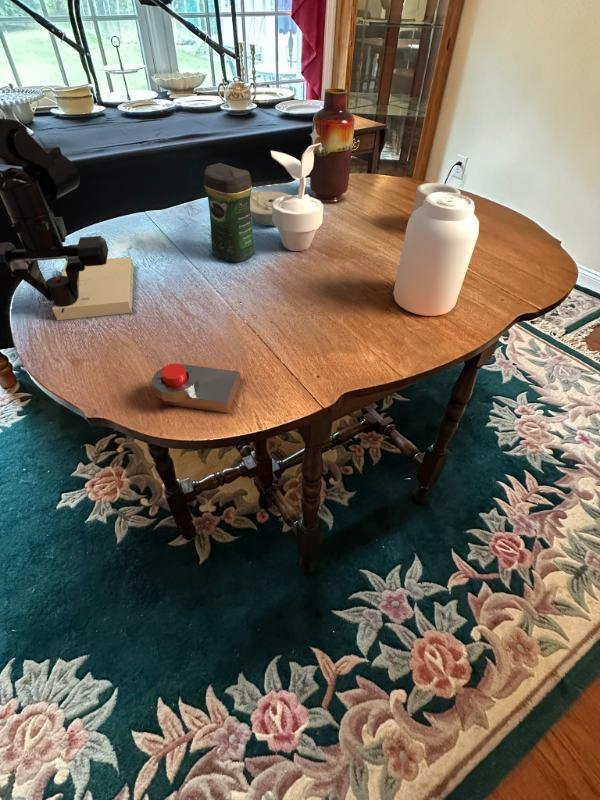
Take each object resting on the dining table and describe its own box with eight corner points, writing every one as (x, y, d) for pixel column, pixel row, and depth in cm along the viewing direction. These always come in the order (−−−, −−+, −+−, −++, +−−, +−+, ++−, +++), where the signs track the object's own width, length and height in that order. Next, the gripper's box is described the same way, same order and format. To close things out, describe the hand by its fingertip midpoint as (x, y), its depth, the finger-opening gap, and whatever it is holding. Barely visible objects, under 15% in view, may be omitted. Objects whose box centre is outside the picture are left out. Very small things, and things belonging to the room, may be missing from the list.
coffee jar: (260, 254, 100) (258, 167, 87) (236, 267, 95) (230, 176, 82) (230, 242, 104) (223, 157, 91) (206, 253, 99) (195, 165, 86)
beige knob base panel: (42, 327, 77) (37, 315, 75) (58, 273, 91) (54, 261, 89) (131, 318, 80) (127, 306, 78) (133, 267, 94) (131, 256, 92)
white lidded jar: (446, 324, 82) (481, 218, 68) (384, 306, 86) (404, 202, 72) (460, 294, 90) (493, 194, 76) (402, 279, 94) (424, 181, 80)
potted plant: (329, 244, 105) (339, 124, 87) (303, 262, 98) (308, 136, 80) (287, 230, 110) (288, 115, 92) (259, 246, 103) (254, 125, 85)
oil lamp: (213, 215, 115) (211, 195, 112) (248, 200, 124) (247, 181, 120) (275, 237, 107) (275, 216, 103) (308, 219, 115) (309, 199, 112)
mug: (442, 242, 108) (453, 200, 101) (402, 231, 112) (410, 190, 105) (458, 224, 116) (470, 184, 109) (420, 214, 120) (429, 176, 113)
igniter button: (159, 386, 62) (157, 377, 61) (168, 371, 64) (166, 361, 63) (182, 389, 62) (180, 380, 60) (190, 373, 64) (188, 364, 63)
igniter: (151, 409, 64) (145, 389, 61) (172, 373, 69) (167, 353, 67) (226, 419, 63) (223, 400, 60) (240, 382, 68) (238, 362, 66)
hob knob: (76, 305, 78) (68, 284, 75) (52, 307, 77) (42, 286, 74) (78, 294, 81) (70, 272, 78) (55, 296, 80) (46, 275, 77)
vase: (305, 202, 124) (310, 92, 106) (313, 189, 132) (318, 84, 113) (343, 206, 122) (354, 96, 104) (349, 193, 130) (360, 88, 112)
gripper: (97, 190, 75) (120, 272, 86) (-23, 196, 71) (18, 281, 82) (90, 215, 67) (117, 302, 78) (-44, 223, 64) (4, 313, 75)
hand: (64, 298), depth 78 cm, fingers closed on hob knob, 4 cm apart
